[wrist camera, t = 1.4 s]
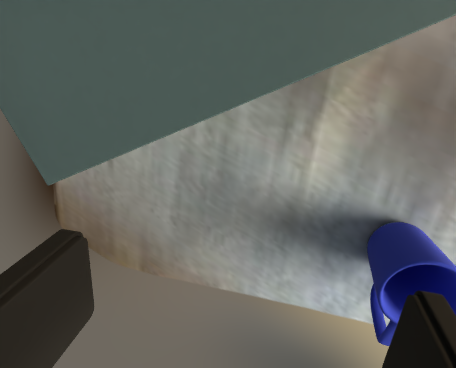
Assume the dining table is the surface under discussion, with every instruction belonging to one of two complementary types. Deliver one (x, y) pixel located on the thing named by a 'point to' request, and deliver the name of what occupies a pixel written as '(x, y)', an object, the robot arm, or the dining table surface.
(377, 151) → the dining table surface
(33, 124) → the cabinet
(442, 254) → the mug
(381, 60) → the dining table surface
